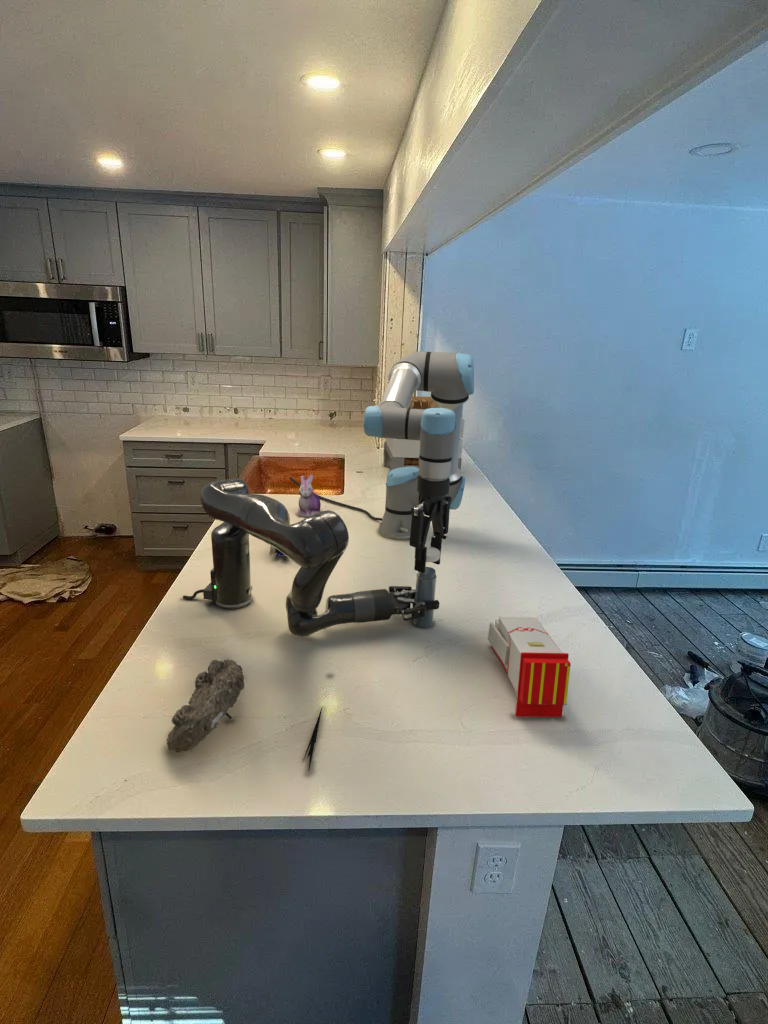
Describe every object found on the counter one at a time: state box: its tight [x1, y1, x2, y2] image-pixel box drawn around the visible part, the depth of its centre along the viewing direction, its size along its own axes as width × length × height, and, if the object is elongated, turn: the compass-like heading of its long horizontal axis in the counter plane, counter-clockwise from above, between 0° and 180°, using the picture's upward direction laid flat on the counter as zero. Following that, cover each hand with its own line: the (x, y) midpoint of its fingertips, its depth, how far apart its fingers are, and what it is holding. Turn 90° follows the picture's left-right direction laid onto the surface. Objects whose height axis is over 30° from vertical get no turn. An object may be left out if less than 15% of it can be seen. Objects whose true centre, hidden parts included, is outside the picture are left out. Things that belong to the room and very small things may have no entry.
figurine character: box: [269, 545, 288, 560], centre depth 179 cm, size 7×8×15 cm
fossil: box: [166, 658, 245, 754], centre depth 106 cm, size 22×10×15 cm
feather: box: [301, 673, 332, 771], centre depth 108 cm, size 2×28×2 cm
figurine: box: [298, 474, 322, 518], centre depth 213 cm, size 9×10×15 cm
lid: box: [425, 546, 441, 563], centre depth 138 cm, size 6×6×2 cm
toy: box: [487, 616, 572, 718], centre depth 123 cm, size 12×13×30 cm
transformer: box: [383, 395, 465, 472], centre depth 268 cm, size 34×33×41 cm
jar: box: [412, 566, 438, 628], centre depth 142 cm, size 5×5×15 cm
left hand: (434, 599), depth 143 cm, fingers closed on jar, 5 cm apart
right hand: (427, 566), depth 139 cm, fingers closed on lid, 6 cm apart
